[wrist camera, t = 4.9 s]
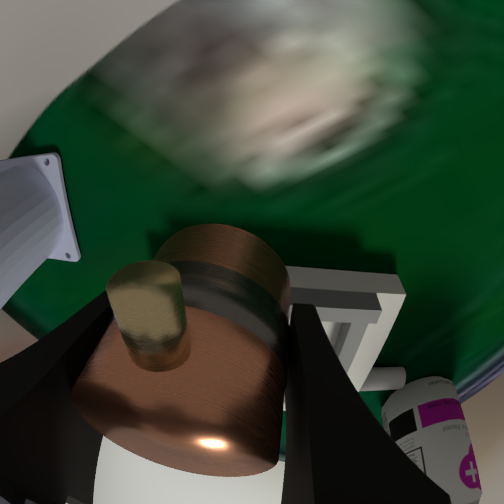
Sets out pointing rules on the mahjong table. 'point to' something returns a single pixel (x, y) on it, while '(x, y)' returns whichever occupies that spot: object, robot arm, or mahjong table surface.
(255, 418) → the spout can
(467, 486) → the supplement can
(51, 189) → the robot arm
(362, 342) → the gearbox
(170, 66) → the mahjong table surface
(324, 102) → the mahjong table surface
